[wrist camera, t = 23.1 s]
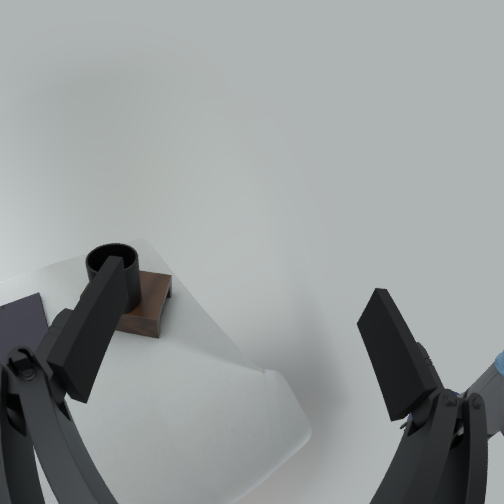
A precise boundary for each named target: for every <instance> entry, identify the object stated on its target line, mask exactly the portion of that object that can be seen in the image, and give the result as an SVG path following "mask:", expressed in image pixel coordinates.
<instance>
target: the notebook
mask: <svg viewBox="0 0 504 504" xmlns="http://www.w3.org/2000/svg"><path fill="white" fill-rule="evenodd" d="M48 329H49V328H48V325H47V321H46V317H45V313H44V309H43V305H42V301H41V297H40V294H39V293H36V294H33V295H30V296H28V297H25V298H22V299H19V300H17V301H14V302H11V303H8V304H6V305H3V306H0V362H1V363H2V365H3V366H7V365H6V358H7V356H8V354H9V352H10V351H11V350H12V349H13V348H15V347H17V346H27V347H29V348H30V349H31V350H32V352H33V353H34V354H35V352H36V350H37V348H38V346H39V345H40V343H41V341H42V339H43V338H44V336H45V334H46V332H48Z"/></svg>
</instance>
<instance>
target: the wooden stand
mask: <svg viewBox="0 0 504 504" xmlns="http://www.w3.org/2000/svg"><path fill="white" fill-rule="evenodd" d="M139 274H140V285H141V294H142V297H141V300H140V303H139V304H138V306H137V307H136V308H135V309H133V310H132V311H130V312H128V313H125V314H122V315H121V317H120V319H119V322H118V324H117V326H116V329H115V330H118V331H123V332H128V333H133V334H138V335H144V336H149V337H155V338H159V336H160V323H159V319H160V315H161V312H162V309H163V306H164V303H165V299H166V297H169V298H171V294H172V276H171V275H167V274H160V273H153V272H146V271H139ZM89 285H90V282H89V283H88V285H87V286H86V288H85V289H84V291H83V293H82V294H81V296H80V299H81V297H82V296H83V294H84V292H85V291H86V289H87V288H88V286H89Z"/></svg>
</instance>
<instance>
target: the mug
mask: <svg viewBox="0 0 504 504" xmlns="http://www.w3.org/2000/svg"><path fill="white" fill-rule="evenodd" d="M109 255H110V256H116V257H123V263H124V271H125V279H126V286H127V292H128V299H129V300H128V302H127V304H126V306H125V308H124V311H123V313H122V314H125V313H128V312H130V311H132V310H133V309H135V308H136V307H137V306H138V304H139V303H140V300H141V297H142V294H141V285H140V274H139V262H138V254H137V252H136V250H135V249H134V248H132V247H131V246H128V245H125V244H120V243H111V244H106V245H102V246H99V247H97V248H95V249H94V250H92V251H91V252H90V253H89V254H88V256H87V257H86V268H87V273H88V277H89V282H90V283H91V282H92V280H93V279H94V277H95V276H96V274H97V273H98V271H99V270H100V268H101V267H102V265H103V264H104V263H105V261H106V260H107V258H108V257H109Z"/></svg>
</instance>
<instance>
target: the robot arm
mask: <svg viewBox="0 0 504 504" xmlns="http://www.w3.org/2000/svg"><path fill="white" fill-rule="evenodd" d="M128 300H129V299H128V292H127V286H126V279H125V271H124V263H123V257H116V256H110V255H109V257H108V258H107V260H106V261H105V263H104V264H103V265H102V267H101V268H100V270H99V271H98V273H97V274H96V276H95V277H94V279H93V280H92V282H91V283H90V285H89V286H88V288H87V289H86V291H85V292H84V294H83V296H82V297H81V299H80V300H79V302H78V304H77V305H76V307H75V309H74V310H70V309H67V308H65V309H64V310H62V311H61V312H60V313H59V314H58V315H57V316H56V317H55V319H54V321H53V322H52V325H51V326H50V327H49V329H48V332H46V334H45V336H44V338H43V339H42V341H41V343H40V345H39V346H38V348H37V350H36V352H35V354H34V353H33V352H32V350H31V349H30V348H29V347H27V346H17V347H15V348H13V349H12V350H11V351H10V352H9V354H8V356H7V358H6V365H7V366H3V365H2V363H1V362H0V504H45V501H44V497H43V493H42V490H41V485H40V481H39V477H38V472H37V467H36V461H35V455H34V449H35V451H36V454H37V457H38V459H39V462H40V464H41V467H42V469H43V472H44V474H45V476H46V478H47V481H48V483H49V485H50V487H51V489H52V491H53V493H54V495H55V497H56V499H57V501H58V503H59V504H118V503H117V501H116V500H115V498H114V497H113V495H112V494H111V492H110V490H109V489H108V487H107V486H106V484H105V482H104V481H103V479H102V477H101V476H100V474H99V472H98V470H97V469H96V467H95V465H94V463H93V461H92V459H91V457H90V455H89V453H88V451H87V449H86V447H85V445H84V443H83V441H82V439H81V437H80V435H79V432H78V430H77V428H76V425H75V423H74V421H73V418H72V416H71V413H70V411H69V408H68V406H67V403H66V401H65V399H64V397H65V395H66V392H67V393H68V395H69V396H70V397H71V399H74V400H77V401H80V402H83V403H86V404H87V401H88V398H89V395H90V392H91V389H92V387H93V384H94V381H95V378H96V376H97V373H98V370H99V368H100V365H101V363H102V360H103V357H104V355H105V352H106V350H107V348H108V345H109V343H110V340H111V338H112V336H113V333H114V331H115V329H116V326H117V324H118V322H119V319H120V317H121V315H122V313H123V311H124V308H125V306H126V304H127V302H128ZM357 325H358V329H359V331H360V333H361V336H362V339H363V341H364V344H365V347H366V349H367V352H368V355H369V357H370V360H371V363H372V366H373V368H374V371H375V374H376V377H377V380H378V383H379V386H380V388H381V391H382V394H383V398H384V401H385V404H386V407H387V410H388V413H389V416H390V419H391V421H396V420H400V419H403V418H405V417H406V416H407V415H408V414H409V413H411V415H412V417H411V418H410V419H409V420H408V421H407V422H405V423H404V424H403V425H402V426H401V427H400V429H402V428H404V427H405V426H406V425H407V426H406V429H404V434H403V437H402V439H401V442H400V444H399V446H398V449H397V451H396V453H395V456H394V458H393V460H392V462H391V464H390V467H389V468H388V470H387V472H386V474H385V477H384V478H383V481H382V482H381V484H380V486H379V488H378V490H377V491H376V494H375V495H374V497H373V498H372V500H371V502H370V504H484V503H485V494H486V485H487V468H488V466H487V465H488V440H489V439H490V438H491V437H492V436H493V435H495V434H496V433H497V432H499V431H501V433H502V434H503V436H504V351H503V352H502V353H500V354H499V355H498V356H497V357H496V359H495V361H494V363H493V364H492V365H491V366H490V367H489V368H488V369H487V370H486V371H485V372H484V373H483V374H482V375H481V376H480V377H479V379H478V380H477V381H476V382H475V383H474V384H472V385H471V387H470V388H468V389H467V390H466V391H465V392H464V393H461V394H459V395H456V394H455V393H454V392H453V391H452V390H450V389H445V388H444V387H443V384H442V382H441V380H440V378H439V376H438V374H437V372H436V369H435V367H434V366H433V365H432V361H431V359H429V356H428V353H427V351H426V349H425V348H424V347H423V346H422V345H421V344H420V343H419V342H416V341H415V339H414V337H413V335H412V334H411V332H410V330H409V328H408V326H407V324H406V322H405V321H404V319H403V317H402V315H401V313H400V311H399V310H398V308H397V306H396V304H395V303H394V301H393V299H392V298H391V296H390V294H389V292H388V291H387V289H380V288H375V290H374V292H373V294H372V296H371V298H370V300H369V302H368V304H367V306H366V308H365V310H364V312H363V313H362V316H361V317H360V319H359V321H358V322H357ZM33 446H34V449H33Z"/></svg>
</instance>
